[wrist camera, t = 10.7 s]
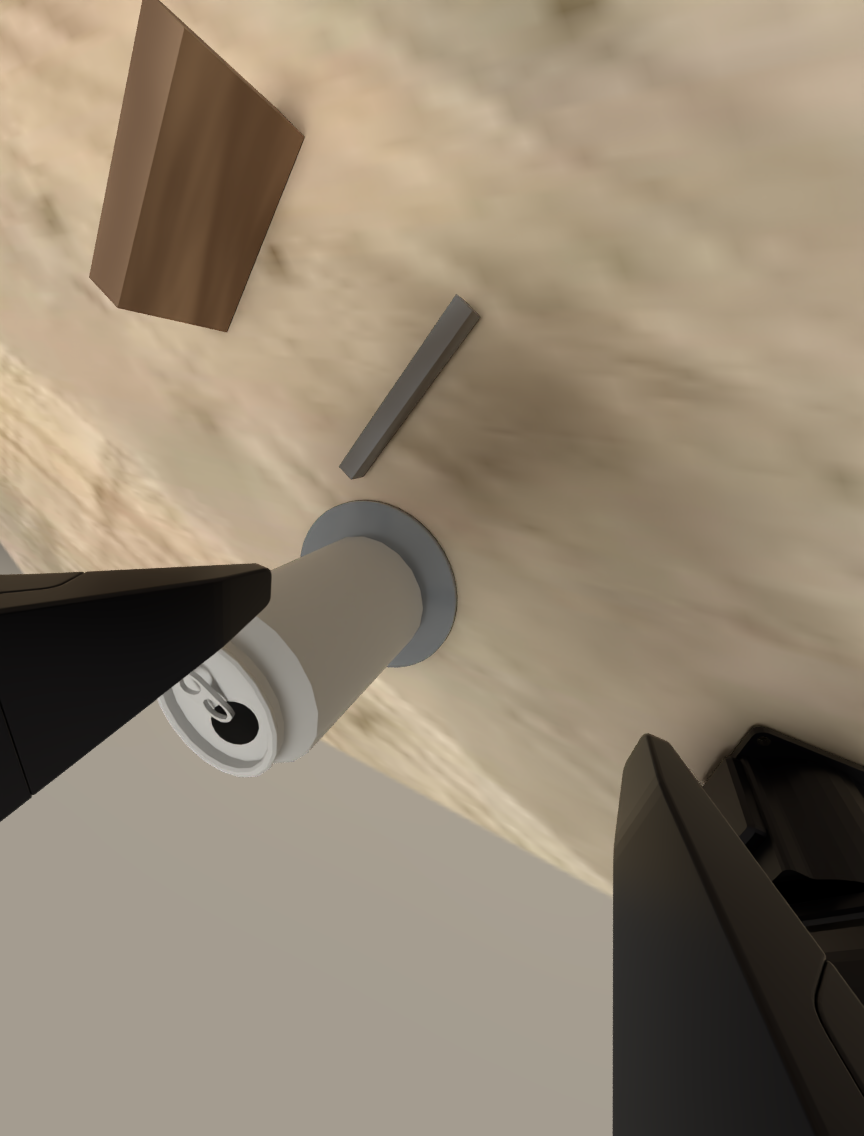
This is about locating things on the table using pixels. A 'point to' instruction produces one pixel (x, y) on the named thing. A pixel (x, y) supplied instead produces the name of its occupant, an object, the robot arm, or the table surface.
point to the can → (298, 658)
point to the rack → (215, 204)
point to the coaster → (416, 553)
